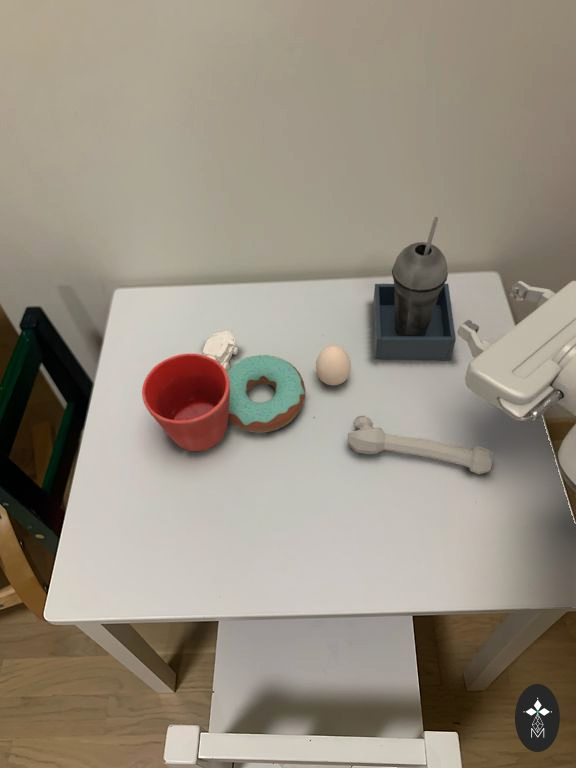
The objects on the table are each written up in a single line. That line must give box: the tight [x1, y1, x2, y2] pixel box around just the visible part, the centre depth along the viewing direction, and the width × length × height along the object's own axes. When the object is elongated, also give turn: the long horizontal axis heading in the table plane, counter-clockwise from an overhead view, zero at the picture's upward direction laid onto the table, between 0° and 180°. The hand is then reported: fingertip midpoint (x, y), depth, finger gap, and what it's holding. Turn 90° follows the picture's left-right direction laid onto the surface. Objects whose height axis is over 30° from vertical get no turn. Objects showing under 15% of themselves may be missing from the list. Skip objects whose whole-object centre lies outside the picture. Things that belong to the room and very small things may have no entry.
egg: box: [315, 344, 352, 386], centre depth 81 cm, size 5×5×7 cm
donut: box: [219, 354, 306, 433], centre depth 81 cm, size 12×12×4 cm
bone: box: [347, 415, 494, 475], centre depth 75 cm, size 18×5×4 cm, turn 71°
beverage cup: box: [391, 216, 449, 336], centre depth 80 cm, size 7×7×20 cm
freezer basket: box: [372, 283, 457, 361], centre depth 86 cm, size 11×11×5 cm
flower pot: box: [141, 353, 230, 452], centre depth 77 cm, size 11×11×10 cm
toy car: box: [201, 330, 239, 372], centre depth 86 cm, size 5×8×4 cm, turn 162°
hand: (488, 306), depth 72 cm, fingers open, 8 cm apart
